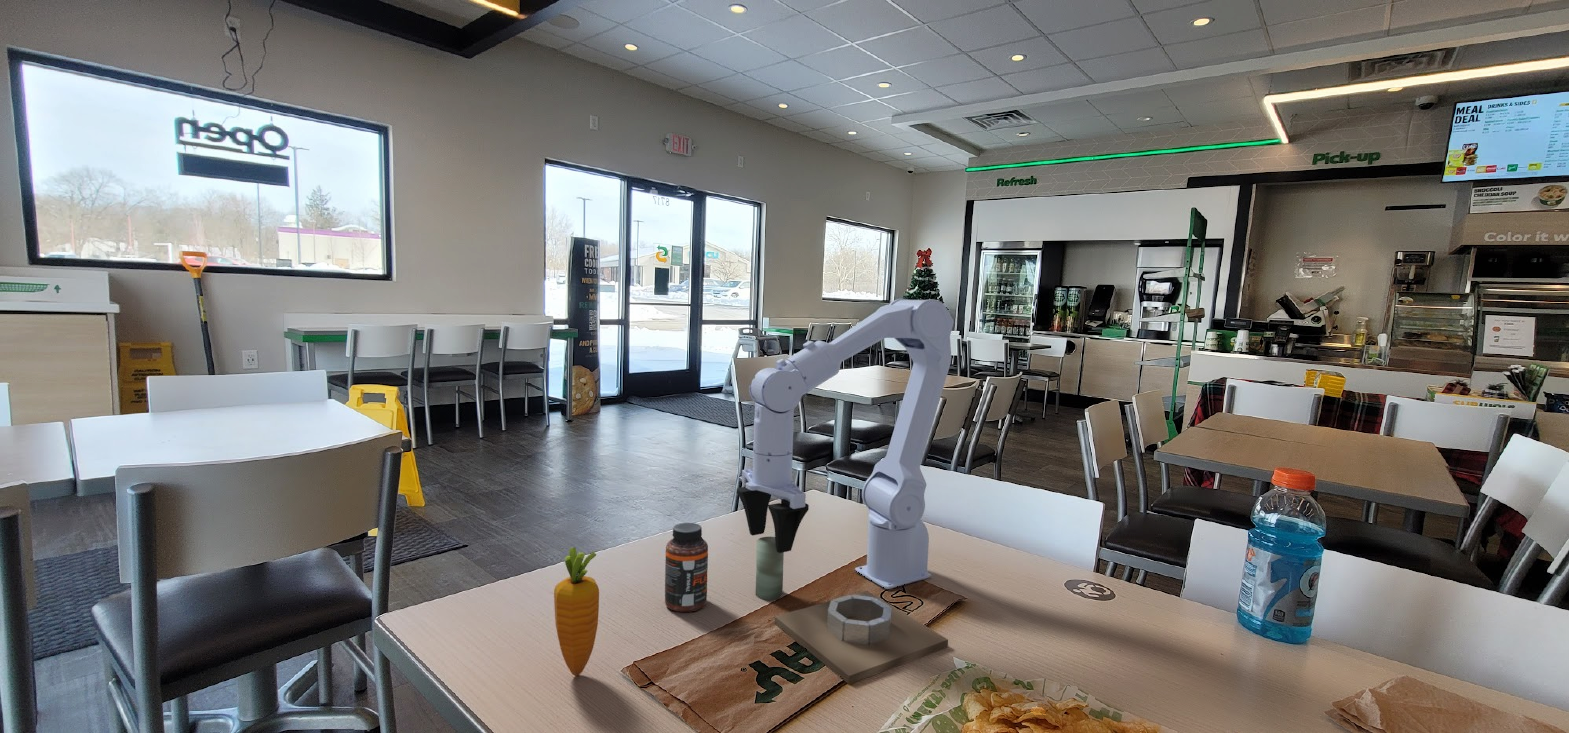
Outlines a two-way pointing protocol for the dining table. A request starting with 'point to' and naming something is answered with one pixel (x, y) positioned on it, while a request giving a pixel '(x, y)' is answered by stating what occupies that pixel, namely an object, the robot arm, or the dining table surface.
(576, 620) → the carrot
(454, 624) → the dining table surface
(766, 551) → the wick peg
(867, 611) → the collar ring
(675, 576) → the supplement bottle
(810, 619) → the collar board
